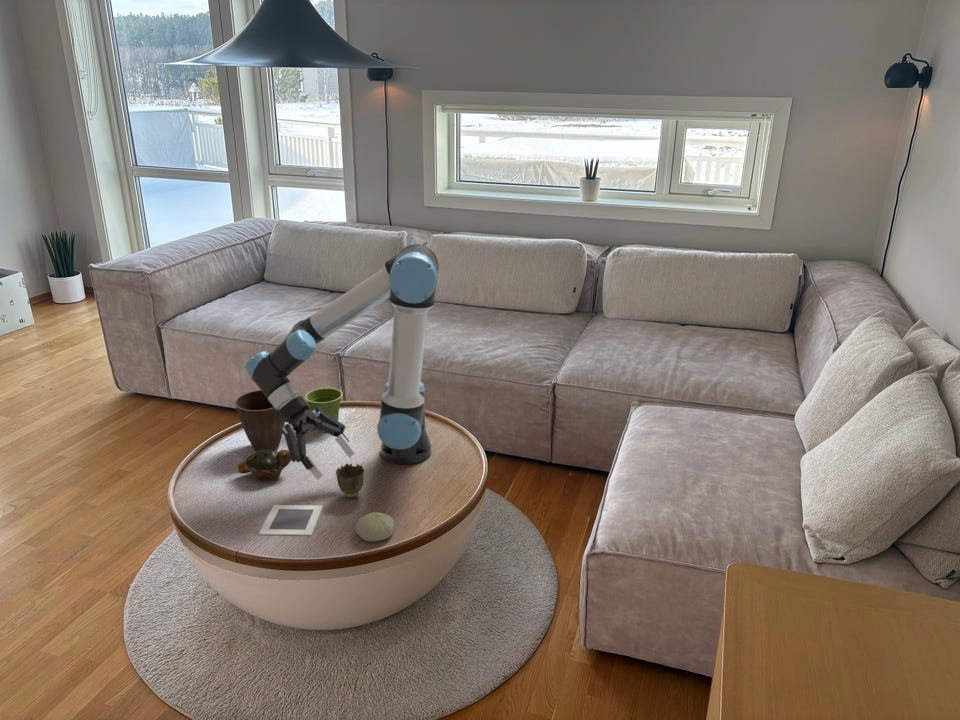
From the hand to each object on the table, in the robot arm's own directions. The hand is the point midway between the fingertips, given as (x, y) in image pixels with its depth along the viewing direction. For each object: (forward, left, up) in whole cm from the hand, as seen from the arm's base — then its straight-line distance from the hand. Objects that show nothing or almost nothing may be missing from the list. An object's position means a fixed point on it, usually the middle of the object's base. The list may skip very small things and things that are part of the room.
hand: (337, 465), depth 190 cm
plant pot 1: (+27, -26, -9) cm, 39 cm away
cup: (-4, +1, -9) cm, 9 cm away
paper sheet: (+9, +13, -9) cm, 18 cm away
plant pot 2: (+12, -41, -9) cm, 44 cm away
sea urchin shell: (-13, +18, -9) cm, 24 cm away
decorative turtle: (+22, -9, -9) cm, 26 cm away
